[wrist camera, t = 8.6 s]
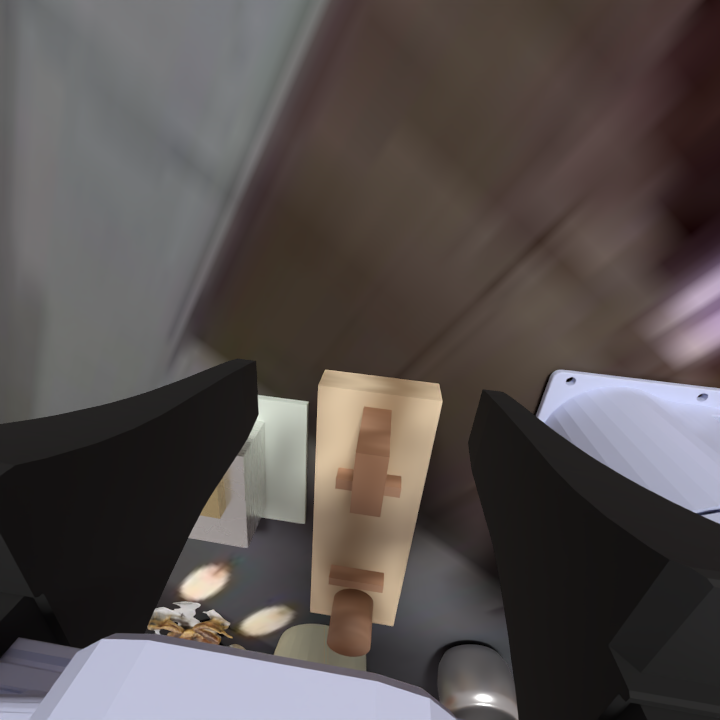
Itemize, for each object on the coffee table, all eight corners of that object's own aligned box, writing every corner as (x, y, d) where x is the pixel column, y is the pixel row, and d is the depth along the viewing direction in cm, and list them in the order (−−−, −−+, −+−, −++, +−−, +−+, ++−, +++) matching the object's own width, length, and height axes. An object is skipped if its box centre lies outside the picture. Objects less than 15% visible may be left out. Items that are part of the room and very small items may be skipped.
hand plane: (439, 383, 21) (451, 448, 16) (393, 600, 31) (391, 687, 25) (325, 369, 21) (299, 427, 16) (315, 588, 31) (297, 670, 26)
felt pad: (308, 401, 23) (307, 404, 22) (305, 519, 27) (304, 524, 27) (190, 386, 23) (187, 389, 23) (208, 504, 28) (205, 508, 27)
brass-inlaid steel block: (264, 421, 23) (237, 466, 19) (266, 506, 27) (243, 559, 23) (192, 410, 23) (151, 452, 20) (203, 496, 27) (169, 546, 23)
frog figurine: (281, 653, 37) (269, 699, 34) (195, 664, 41) (176, 708, 37) (222, 587, 33) (202, 632, 30) (132, 606, 37) (104, 648, 33)
